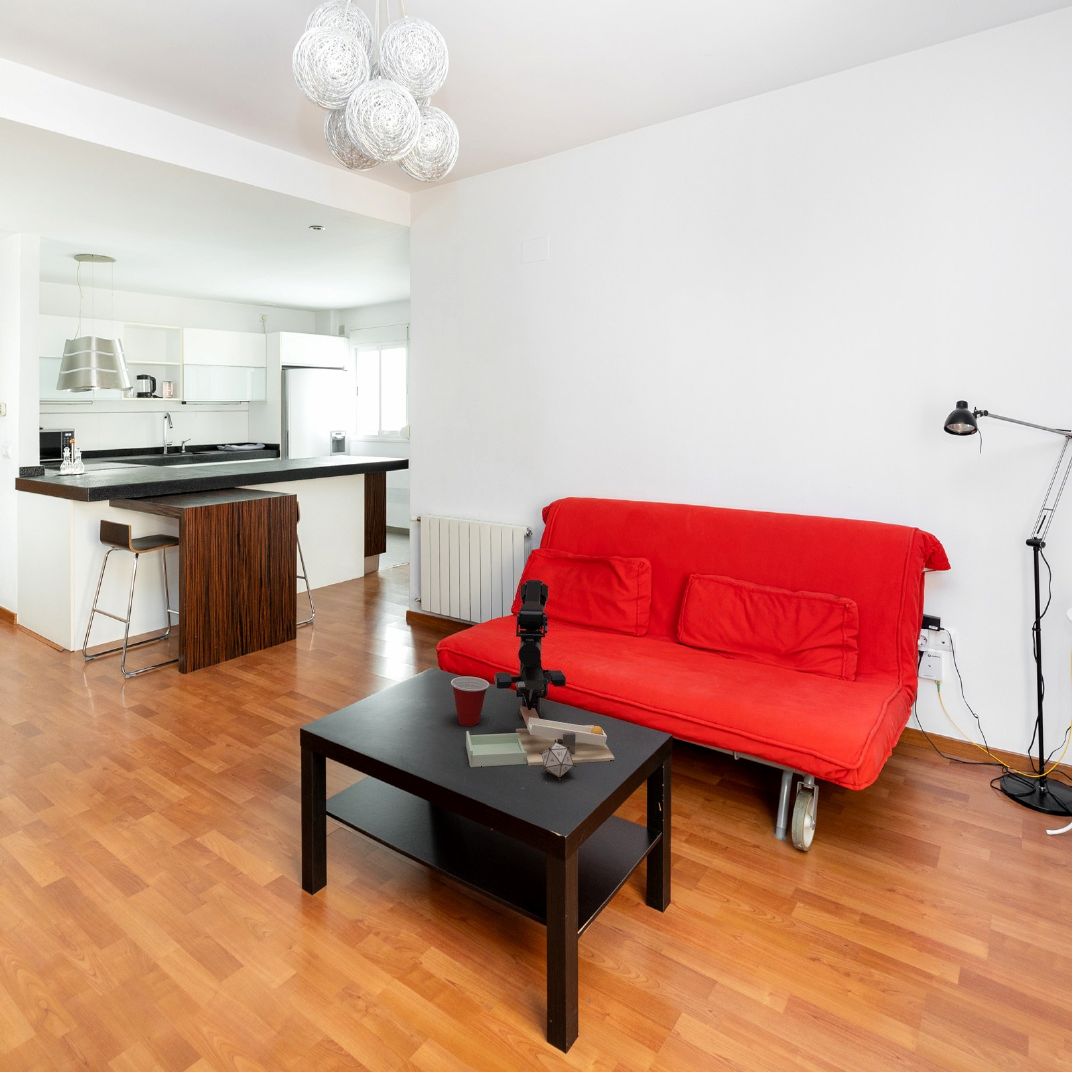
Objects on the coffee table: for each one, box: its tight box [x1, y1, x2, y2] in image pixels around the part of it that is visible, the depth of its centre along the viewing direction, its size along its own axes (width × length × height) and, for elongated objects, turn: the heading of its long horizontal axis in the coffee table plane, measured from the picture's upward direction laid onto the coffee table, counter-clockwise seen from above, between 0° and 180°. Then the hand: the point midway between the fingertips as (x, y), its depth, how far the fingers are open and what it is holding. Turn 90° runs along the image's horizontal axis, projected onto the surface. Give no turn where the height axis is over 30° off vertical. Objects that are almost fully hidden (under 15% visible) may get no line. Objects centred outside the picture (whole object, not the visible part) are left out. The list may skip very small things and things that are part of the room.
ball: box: [591, 725, 604, 735], centre depth 189 cm, size 3×3×3 cm
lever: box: [519, 705, 608, 746], centre depth 193 cm, size 17×20×3 cm
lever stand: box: [515, 722, 615, 766], centre depth 191 cm, size 21×22×6 cm
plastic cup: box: [450, 676, 490, 727], centre depth 205 cm, size 11×11×12 cm
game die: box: [539, 739, 578, 782], centre depth 174 cm, size 9×8×10 cm
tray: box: [465, 730, 528, 768], centre depth 185 cm, size 12×14×4 cm
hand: (529, 709), depth 197 cm, fingers closed
